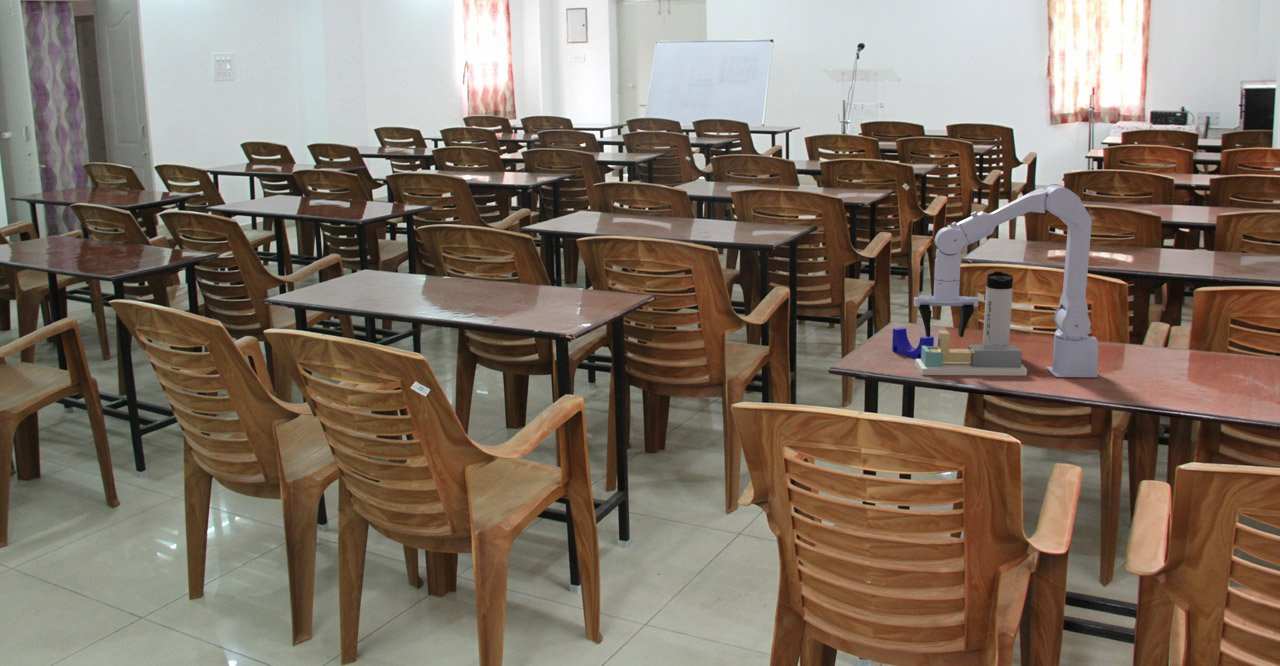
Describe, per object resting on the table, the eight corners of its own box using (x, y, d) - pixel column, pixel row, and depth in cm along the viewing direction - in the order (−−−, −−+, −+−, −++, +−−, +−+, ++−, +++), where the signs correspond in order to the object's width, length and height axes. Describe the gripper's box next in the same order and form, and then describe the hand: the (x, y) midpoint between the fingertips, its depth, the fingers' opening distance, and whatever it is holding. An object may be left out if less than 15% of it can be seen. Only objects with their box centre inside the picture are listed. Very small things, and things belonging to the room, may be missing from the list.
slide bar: (990, 359, 265) (992, 330, 264) (994, 363, 262) (995, 334, 260) (926, 358, 266) (927, 330, 265) (929, 362, 263) (930, 334, 261)
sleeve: (1014, 360, 266) (1015, 344, 265) (1020, 367, 260) (1022, 350, 260) (967, 360, 267) (968, 344, 266) (972, 367, 261) (973, 350, 260)
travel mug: (1005, 348, 284) (1010, 271, 279) (1010, 355, 277) (1016, 276, 273) (979, 348, 284) (984, 271, 280) (985, 355, 278) (989, 276, 273)
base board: (1016, 365, 268) (1017, 359, 268) (1026, 375, 259) (1027, 369, 259) (915, 364, 270) (915, 358, 269) (921, 374, 261) (922, 368, 261)
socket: (937, 360, 267) (938, 345, 267) (942, 366, 262) (943, 351, 261) (920, 360, 268) (921, 345, 267) (925, 366, 262) (925, 351, 261)
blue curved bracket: (937, 360, 275) (938, 336, 273) (923, 362, 273) (924, 338, 271) (906, 349, 285) (907, 326, 284) (892, 351, 283) (893, 328, 282)
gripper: (974, 276, 263) (971, 332, 266) (912, 276, 264) (910, 332, 267) (981, 281, 256) (978, 339, 260) (917, 281, 257) (915, 339, 261)
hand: (944, 336), depth 263 cm, fingers open, 7 cm apart
